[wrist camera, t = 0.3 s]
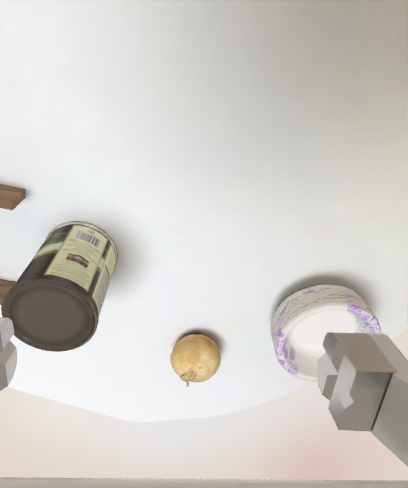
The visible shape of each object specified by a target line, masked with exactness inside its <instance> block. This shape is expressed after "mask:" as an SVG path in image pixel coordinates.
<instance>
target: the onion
mask: <svg viewBox="0 0 408 488" xmlns="http://www.w3.org/2000/svg"><path fill="white" fill-rule="evenodd" d="M220 360H221V358H220V351H219V349H218V347H217V345H216V344H215V342H214V341H213V340H212V339H210V338H209V337H206V336H204V335H202V334H200V335H199V334H194V335H193V334H191V335H188V336H185V337H184V338H182V339H181V340H179V341H178V342H177V344H176V345H175V347H174V349H173V351H172V354H171V364H172V367H173V369H174V371H175V372H176V373H177V374H178V375H179V376H180V378H181V380H183V381H186V382H187V387H188V386H189V382H188V381H191V382H202V381H206V380H208V379H209V378H211V377H212V376H213V375H214V374H215V373H216V371H217V370H218V368H219V365H220Z"/></svg>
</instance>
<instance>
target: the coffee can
mask: <svg viewBox="0 0 408 488" xmlns="http://www.w3.org/2000/svg"><path fill="white" fill-rule="evenodd" d="M116 262H117V251H116V247H115V245H114V243H113V241H112V240H111V238H110V237H109V236H108V235H107V234H106V233H105V232H104V231H103V230H101V229H99V228H98V227H96V226H94V225H91V224H88V223H84V222H68V223H64V224H61V225H59V226H57V227H56V228H54V229H53V230H52V231H51V232H50V233H49V235H48V236H47V238H46V240H45V242H44V243H43V244H42V246H41V247H40V249H39V251H38V252H37V253H36V255H35V256H34V258H33V259H32V261H31V262H30V264H29V265H28V266H27V268H26V269H25V271H24V272H23V273H22V275H21V276H20V278H19V279H18V281H17V282H16V284H15V285H14V286H13V287H12V288H11V289H10V290H9V291H8V293H7V294H6V296H5V297H4V299H3V302H2V308H1V310H2V316H3V318H9V319H10V320H11V321H12V322H13V328H14V335H15V336H16V337H17V338H18V339H20V340H21V341H23V342H24V343H26V344H28V345H30V346H32V347H35V348H38V349H41V350H46V351H68V350H72V349H75V348H78V347H80V346H82V345H83V344H85V343H86V342H88V341H89V340H90V339H91V338H92V336H93V335H94V333H95V331H96V328H97V325H98V318H99V315H100V311H101V308H102V305H103V302H104V298H105V295H106V292H107V289H108V285H109V282H110V279H111V276H112V273H113V270H114V267H115V265H116Z"/></svg>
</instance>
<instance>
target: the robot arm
mask: <svg viewBox="0 0 408 488" xmlns="http://www.w3.org/2000/svg"><path fill="white" fill-rule="evenodd" d="M13 334H14V328H13V322H12V321H11V320H10V319H9V318H0V390H2V389H4V388H5V387H7V386H8V385H9V383H10V381H11V379H12V378H13V375H14V372H15V368H16V364H17V350H16V347H15V346H14V345H13V343H12V342H11V341H10V338H11V337H12V335H13ZM323 347H324V349H325V351H326V353H324V354H323V355H322V356H321V357H320V358H319V361H318V365H317V381H318V385H319V388H320V390H321V392H322V395H324V396H325V397H326V398H327V399H329V400H330V404H329V410H330V413H331V415H332V417H333V419H334V421H335V423H336V425H337V427H338V429H339V430H354V431H372V434H373V435H374V436H375V437H376V438H378V439H379V440H380V441H381V442H382V443H383V444H384V445H385V446H386V447H387V448H389V450H391V451H392V452H393V453H394V454H395V455H396V456H397V457H398V458H399V459H400V460H401V461H402V462H404V463H405V464H406V465H407V466H408V360H407V359H406V358H405V357H404V355H403V354H402V353H401V352H400V350H399V349H398V348H397V347H396V346H395V344H394V343H393V342H392V341H391V340H390V339H389V337H388V336H387V335H385V334H383V333H336V332H328V333H327V334H326V336H325V338H324V341H323ZM0 488H408V481H360V480H357V481H355V480H261V479H138V478H135V479H133V478H130V479H129V478H8V477H6V478H4V477H3V478H1V477H0Z"/></svg>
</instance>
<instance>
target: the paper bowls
mask: <svg viewBox="0 0 408 488" xmlns="http://www.w3.org/2000/svg"><path fill="white" fill-rule="evenodd" d="M328 332H336V333H381V328H380V325H379V322H378V320H377V319H376V317H375V315H374V314H373V313H372V311H371V309H370V308H369V306H368V305H367V304H366V302H365V301H364V300H363V299H362V298H361V296H360V295H358V294H357V293H356V292H354V291H353V290H351V289H349V288H347V287H343V286H339V285H333V284H322V285H315V286H310V287H307V288H305V289H302V290H300V291H297V292H295V293H294V294H292V295H290V296H289V297H287V298H286V299H285V300H284V301H283V302H282V303H281V304H280V306H279V307H278V309H277V311H276V312H275V314H274V316H273V319H272V323H271V334H272V340H273V343H274V348H275V352H276V356H277V358H278V361H279V362H280V364H281V365H282V366H283V368H284V369H285V370H287V371H288V372H289V373H290V374H292V375H294V376H296V377H298V378H301V379H304V380H308V381H317V365H318V361H319V358H320V357H321V356H322V355H323V354H324V353H326V351H325V349H324V347H323V341H324V338H325V336H326V334H327V333H328Z"/></svg>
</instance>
